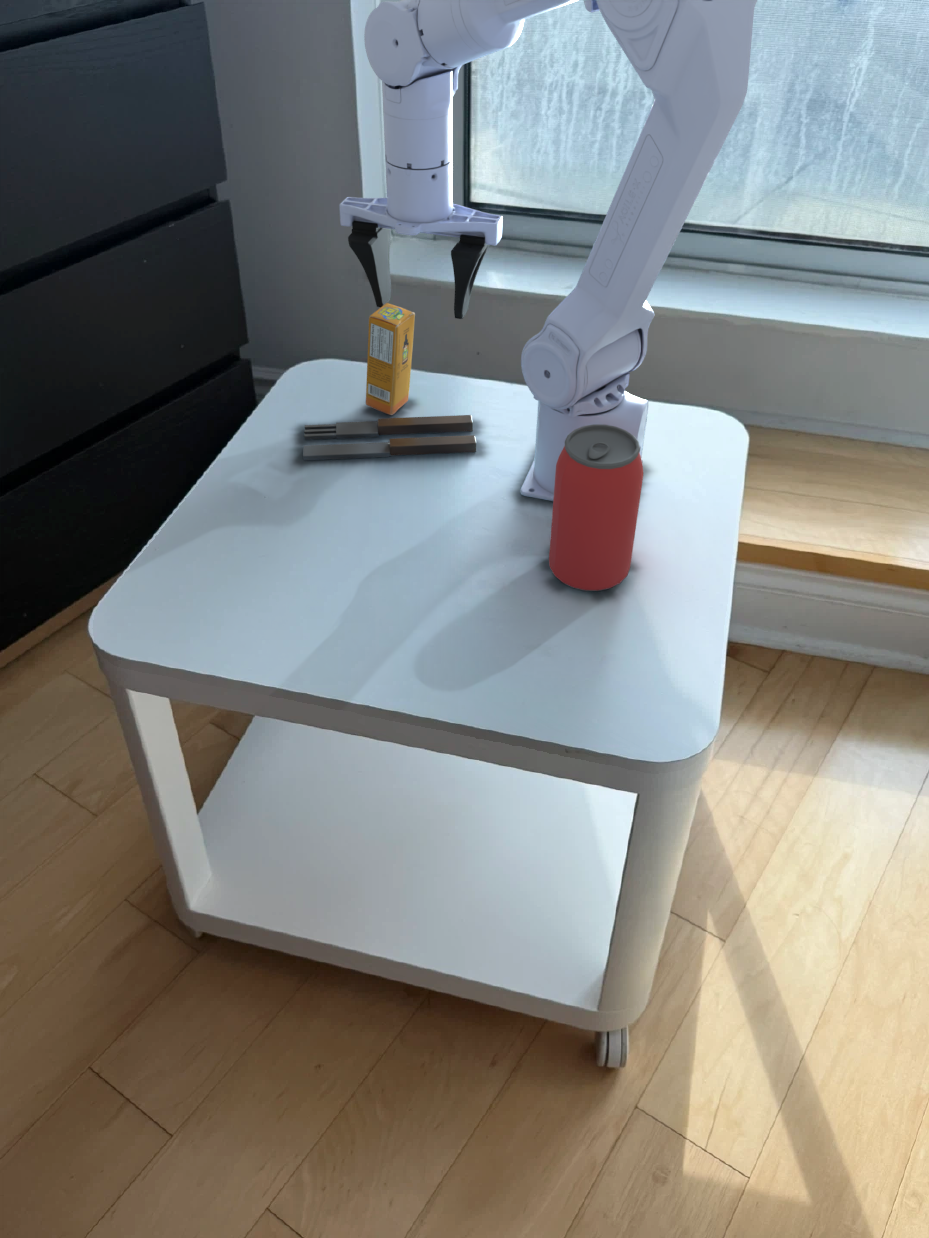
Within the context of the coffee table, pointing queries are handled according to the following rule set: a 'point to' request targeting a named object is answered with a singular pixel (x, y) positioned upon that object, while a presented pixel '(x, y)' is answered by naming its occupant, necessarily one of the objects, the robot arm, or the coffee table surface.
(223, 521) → the coffee table surface
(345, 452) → the cutlery
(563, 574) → the beer can
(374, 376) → the supplement box
